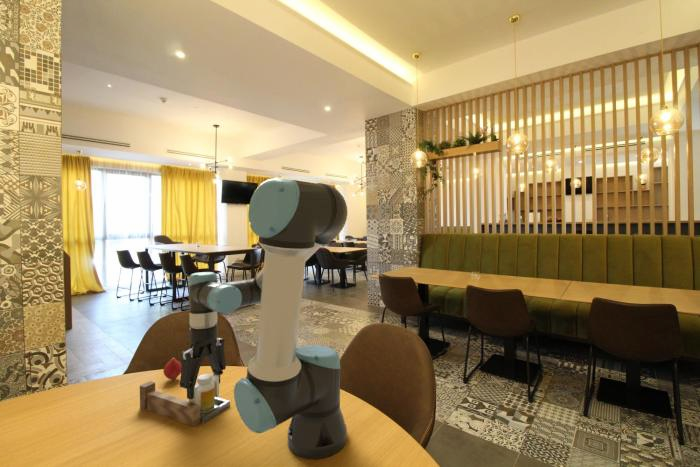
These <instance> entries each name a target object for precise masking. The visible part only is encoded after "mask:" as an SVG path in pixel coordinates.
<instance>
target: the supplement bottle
mask: <svg viewBox="0 0 700 467" xmlns="http://www.w3.org/2000/svg"><path fill="white" fill-rule="evenodd" d="M211 374H212V373H204V374H200V375H198V377H197V380H196V384H195V386H198V405H200V414H202V413H207V412H210V411H211V410H213V409H214V406H215V385H214V382H212V375H211Z"/></svg>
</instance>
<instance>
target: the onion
mask: <svg viewBox="0 0 700 467" xmlns="http://www.w3.org/2000/svg"><path fill="white" fill-rule="evenodd" d="M181 367H182V362H180V361H179V360H177V359H176V358H175V357H172V358H171V359H170V360H169V361H168V362H167V363H166V364H165V366H164V367H163V375H164V376H165V378H166V379H168V380H171V381H175V380H176V379H177V378H179V376H181Z"/></svg>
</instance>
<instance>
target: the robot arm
mask: <svg viewBox="0 0 700 467" xmlns="http://www.w3.org/2000/svg"><path fill="white" fill-rule="evenodd" d="M247 212H248V214H247V216H248V222H249V223H250V224H249V227H250V229H251V231H252V232H253V234H254V235H256V236H258V241H257V242H258V244H259V245H260V247H261V248H262V249H263V250H264V259H263V268H262V269H261V270H260V271H258V273H257V274H256V275H255V277H254V278H249V279H242V280H236V281H235V280H234V281H227V282H226V281H225V282H218V281H219V280H218V276H217V274H216V273H215V272H214V271H213V272H212V271H202V272H199V271H198V272H194V273H191V274H190V275H189V278H188V279H189V280H188V305H189V308H188V309H189V312H188V313H189V314H188V315H189V326H190V327H189V340H190V346H189V349H187V350H185V351H181V352H180V357H181V365H182V367H181V373H180V382H179V387H180V388H182V389H185V390H186V398H187V400H188V401H189V402H192V403H195V404H198V386H196V385H197V378H198V376H199V372H200V369H201V365H202V363H203V362H204V358H207V361H208V363H209V366H210V368H211V371H212V373H210V374H211V375H212V382H214V385H215V397H219V398H220V384H221V375H223V374H224V371H225V370H226V368H227V366H226V358H225V357H226V356H225V347H224V346H225V338H220V337H218V324H217V323H218V313H219V314H226V315H227V314H232V313H234V312H235V311H236V310H238V309H239V308H243V307H247V306H253V305H257V304H260V305H259V317H258V328H257V339H256V340H257V341H256V350H255V355H254V356H253V357H251V359H250V360H249V361H248V363H247V370H246V376H245V377H241V378H240V379H239V380H238V381H237V382H236V383H235V385H234V388H233V397H234V403H235V407H236V409H237V410H236V411H237V413H238V415H239V417H240V420H241V421H242V422H243V424H244V425H245V427H247V429H249V430H250V432H253V433H255V434H263V433H265V432H267V431H270V430H272V429H275V428H277V427H278V426H280V425H282V424H283V423H285V422H286V421H289V420H290V419H291V420H290V424H289V426H288V430H287V446H288V448H289V450H291V452H292V453H294V454H295V455H297V456H299V457H302V458H305V459H314V460H315V459H324V458H327V457H331V456H333V455H335V454H337V453H339V452H340V451H341V450H342V449H343V448H344V447H345V445H346V443H347V439H348V428H347V424H346V422H345V418H344V415H343V412H342V409H341V367H342V366H341V363H340V362H341V360H340V354H339V353H338V351H336V350H335V349H333V348H331V347H328V346H324V345H314V344H313V345H312V344H310V345H301V346H299V347H297V344H298V335H299V327H300V316H301V308H302V307H301V306H302V299H303V298H302V297H303V290H304V289H303V287H304V279H305V270H306V262H307V261H308V260H309V259H310V258H311V257H312V256H313V255H314V254H315V253H317V251H318V250H319V249H320V248H321V247H322V246H323V247H325V246H327V245H329V244H331V242H333V241H334V239H336V238H337V237H338V235H339V234H340V233H341V232H342V231H343V228H344V227H345V225H346V222H347V219H348V206H347V202H346V200H345V197H344V196H343V195H342V193H341V192H340V191H339V190H338V189H337V188H335V187H334V186H332V185H329V184H326V183H321V182H320V183H319V182H318V183H317V182H312V181H311V182H309V181H303V180H298V179H292V178H269V179H267V180H265V181H263V182H262V183H260V184H259V186H258V187H257V188H255V190H254V192H253V194H252V196H251V198H250V202H249V206H248V211H247Z"/></svg>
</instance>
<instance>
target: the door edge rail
mask: <svg viewBox="0 0 700 467" xmlns="http://www.w3.org/2000/svg"><path fill="white" fill-rule="evenodd" d="M139 409H140V410H141V411H142V410H143V411H150V412H152V413H155V414H158V415H160V416H162V417H166V418H169V419H171V420H175V421H177V422H180V423H182V424H186V425H188V426H190V427H193V428H195V427H196V426H198V425H200V424H201V423H200V405H198V404H195V403H192V402H189V400H186V399H182V398H179V397H176V396H172V395H170V394H166V393H164V392H160V391H157V390H156V382H154V381H151V380H149V381H147V382H145V383H143V384H140V385H139Z"/></svg>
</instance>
